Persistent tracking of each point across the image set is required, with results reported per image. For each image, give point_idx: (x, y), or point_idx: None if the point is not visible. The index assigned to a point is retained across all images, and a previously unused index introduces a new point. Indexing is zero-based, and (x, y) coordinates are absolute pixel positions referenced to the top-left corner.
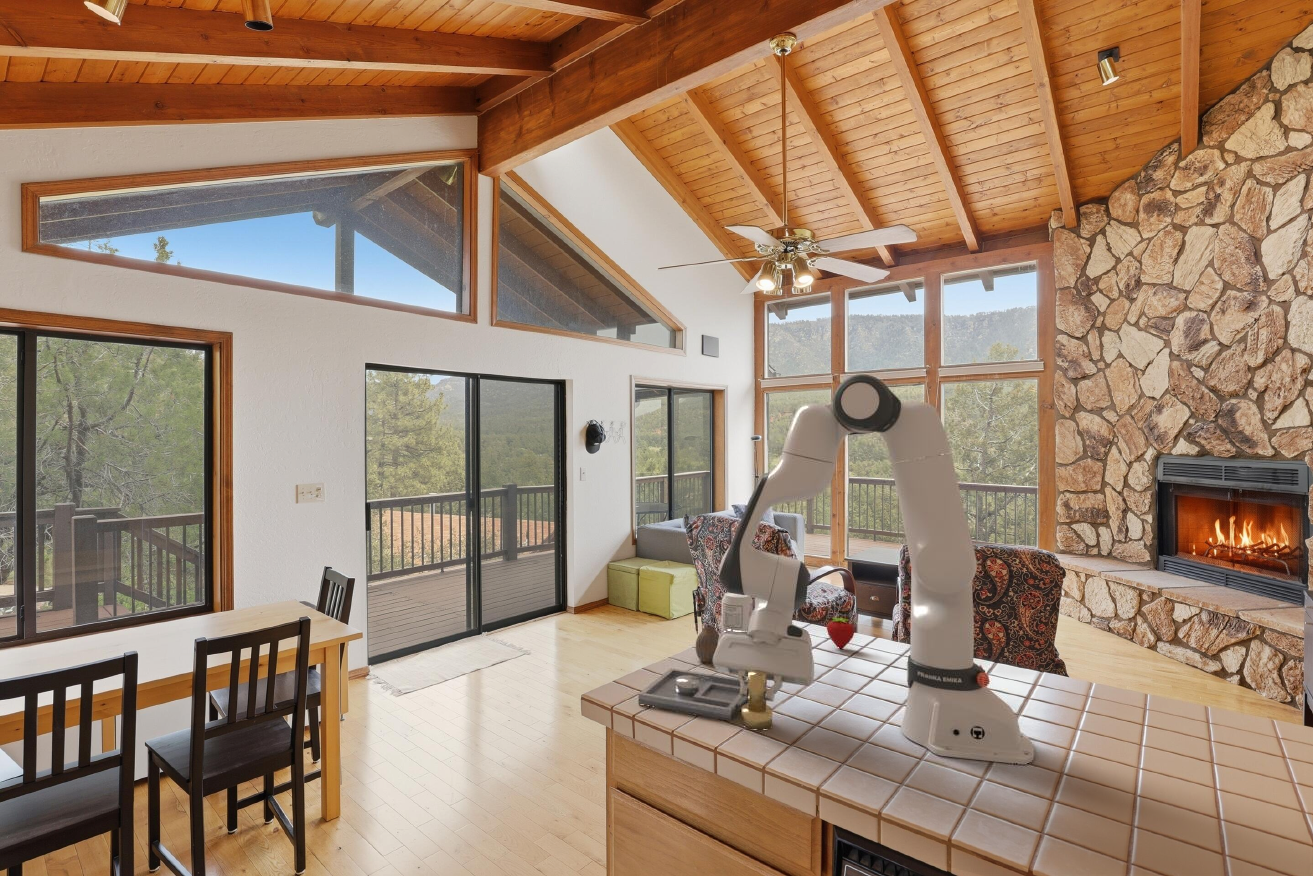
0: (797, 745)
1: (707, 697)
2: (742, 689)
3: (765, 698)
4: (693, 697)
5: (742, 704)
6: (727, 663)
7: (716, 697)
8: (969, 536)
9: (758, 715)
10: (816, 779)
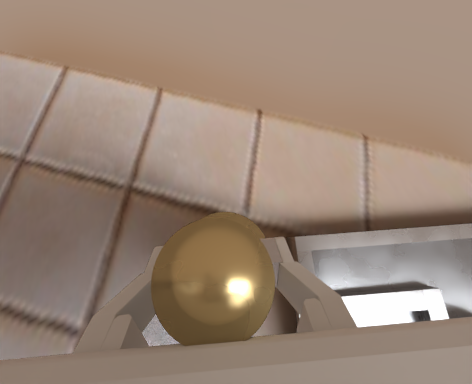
0: (115, 192)
1: (402, 306)
2: (277, 244)
3: None
4: (435, 288)
5: None
6: (470, 335)
7: None
8: None
9: (206, 216)
10: (70, 86)
